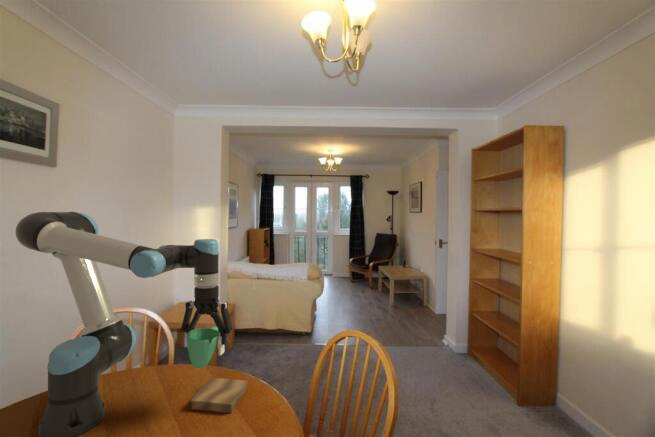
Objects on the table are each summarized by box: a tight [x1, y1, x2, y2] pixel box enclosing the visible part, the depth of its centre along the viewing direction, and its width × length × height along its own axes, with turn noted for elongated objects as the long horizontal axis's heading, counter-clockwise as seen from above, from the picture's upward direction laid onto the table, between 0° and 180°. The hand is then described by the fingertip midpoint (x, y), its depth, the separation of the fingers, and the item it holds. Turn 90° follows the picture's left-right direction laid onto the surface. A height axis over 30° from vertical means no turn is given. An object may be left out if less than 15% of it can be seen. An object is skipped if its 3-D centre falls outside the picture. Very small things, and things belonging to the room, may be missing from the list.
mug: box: [185, 325, 220, 369], centre depth 104 cm, size 15×10×10 cm
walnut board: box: [189, 377, 249, 414], centre depth 106 cm, size 14×14×3 cm
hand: (206, 352), depth 104 cm, fingers closed on mug, 9 cm apart
